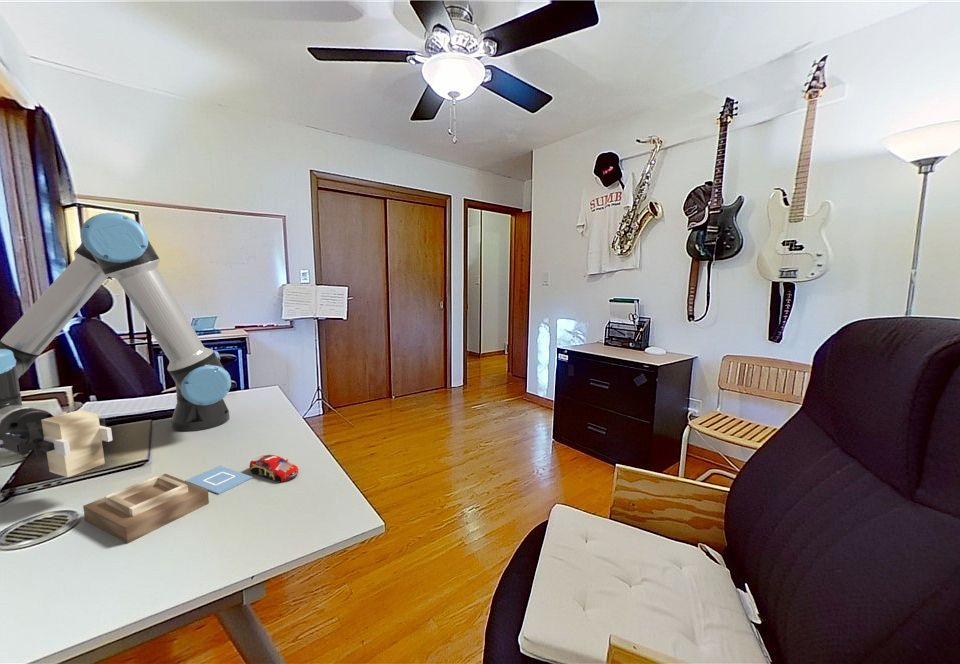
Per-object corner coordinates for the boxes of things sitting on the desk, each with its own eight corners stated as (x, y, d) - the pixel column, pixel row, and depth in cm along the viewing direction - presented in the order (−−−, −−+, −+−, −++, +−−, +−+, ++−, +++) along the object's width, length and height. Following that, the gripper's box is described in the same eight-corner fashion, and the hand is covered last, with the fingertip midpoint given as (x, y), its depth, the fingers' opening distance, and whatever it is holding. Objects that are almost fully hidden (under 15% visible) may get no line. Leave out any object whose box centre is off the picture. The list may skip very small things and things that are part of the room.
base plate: (166, 486, 89) (165, 467, 88) (208, 503, 83) (207, 483, 82) (84, 520, 76) (82, 498, 75) (127, 543, 70) (125, 519, 69)
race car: (303, 475, 96) (302, 460, 95) (284, 486, 91) (283, 470, 90) (266, 463, 101) (265, 448, 100) (246, 472, 96) (245, 457, 96)
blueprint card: (220, 466, 98) (219, 465, 98) (252, 478, 93) (252, 476, 93) (185, 481, 91) (185, 480, 91) (218, 494, 86) (218, 492, 86)
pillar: (87, 458, 85) (80, 410, 83) (104, 463, 83) (98, 413, 81) (49, 471, 79) (41, 419, 77) (67, 477, 77) (59, 424, 75)
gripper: (81, 425, 95) (145, 440, 88) (-43, 460, 77) (25, 482, 70) (76, 395, 94) (141, 408, 87) (-50, 424, 76) (18, 442, 69)
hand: (89, 441), depth 78 cm, fingers closed on pillar, 6 cm apart
